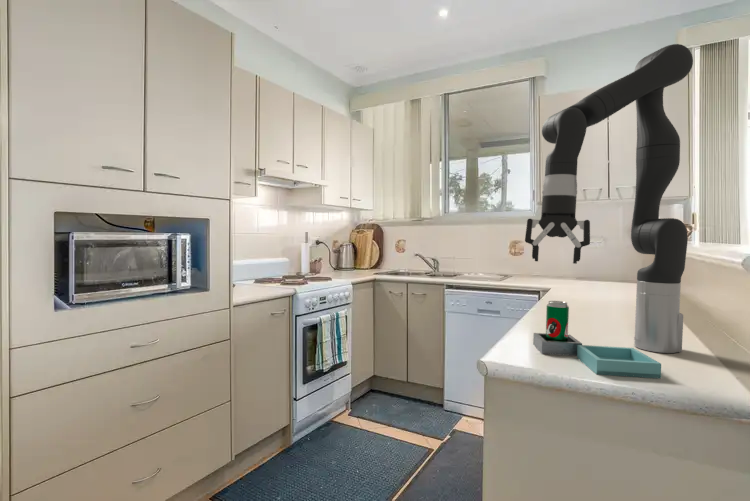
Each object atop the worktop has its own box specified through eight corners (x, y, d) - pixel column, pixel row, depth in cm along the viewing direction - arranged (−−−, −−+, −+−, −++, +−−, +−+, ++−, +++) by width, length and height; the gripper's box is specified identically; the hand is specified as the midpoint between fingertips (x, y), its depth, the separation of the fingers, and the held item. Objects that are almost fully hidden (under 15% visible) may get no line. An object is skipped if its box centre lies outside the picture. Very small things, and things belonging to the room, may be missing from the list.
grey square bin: (569, 346, 106) (570, 334, 106) (581, 356, 97) (582, 343, 97) (533, 344, 107) (533, 332, 107) (541, 353, 99) (542, 341, 98)
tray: (632, 360, 94) (633, 347, 94) (660, 378, 82) (661, 363, 82) (577, 357, 96) (577, 344, 96) (596, 374, 84) (597, 359, 84)
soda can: (569, 353, 99) (571, 304, 99) (547, 351, 100) (549, 303, 100) (564, 348, 104) (566, 301, 104) (543, 346, 105) (544, 300, 105)
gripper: (591, 197, 100) (586, 263, 100) (528, 196, 105) (524, 260, 106) (594, 193, 93) (589, 265, 93) (526, 193, 98) (523, 261, 99)
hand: (555, 262), depth 99 cm, fingers open, 8 cm apart
